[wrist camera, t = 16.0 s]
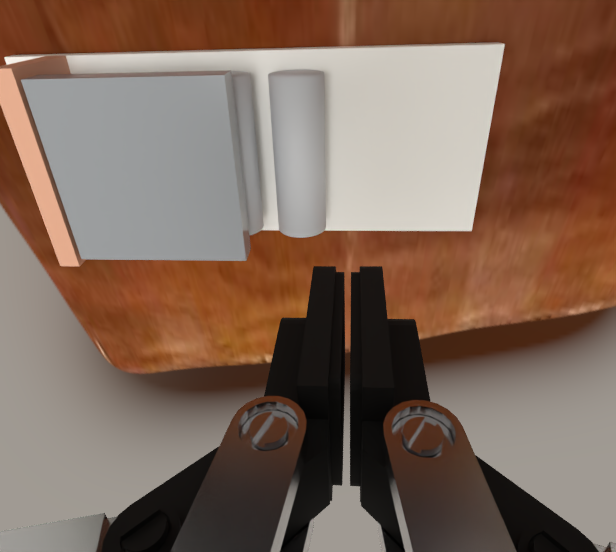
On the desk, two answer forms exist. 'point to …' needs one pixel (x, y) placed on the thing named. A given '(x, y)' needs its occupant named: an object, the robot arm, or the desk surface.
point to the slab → (145, 162)
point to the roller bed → (366, 124)
